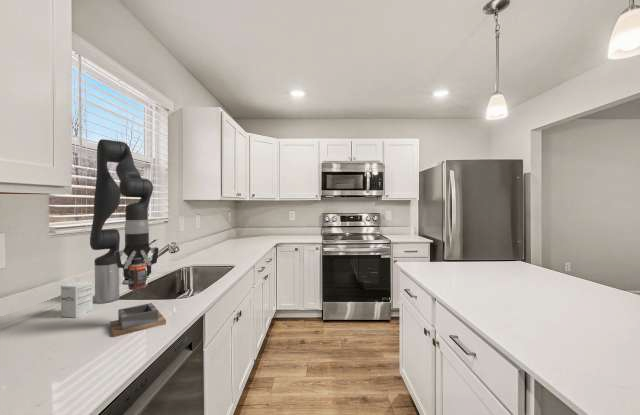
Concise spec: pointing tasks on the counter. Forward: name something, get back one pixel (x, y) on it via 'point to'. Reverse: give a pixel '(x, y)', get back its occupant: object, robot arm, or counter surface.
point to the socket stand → (136, 319)
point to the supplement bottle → (137, 274)
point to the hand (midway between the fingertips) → (137, 276)
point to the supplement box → (76, 299)
